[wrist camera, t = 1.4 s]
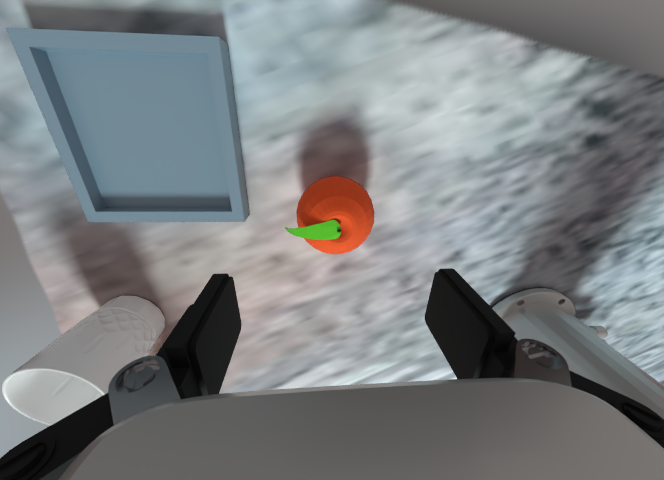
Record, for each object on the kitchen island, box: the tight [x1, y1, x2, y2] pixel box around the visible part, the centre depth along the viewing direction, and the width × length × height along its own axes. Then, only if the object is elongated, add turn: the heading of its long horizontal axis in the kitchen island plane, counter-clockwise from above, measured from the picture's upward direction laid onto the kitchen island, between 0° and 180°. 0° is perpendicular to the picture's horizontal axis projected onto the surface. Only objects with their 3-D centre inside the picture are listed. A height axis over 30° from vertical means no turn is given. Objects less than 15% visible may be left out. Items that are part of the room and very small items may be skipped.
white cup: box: [2, 296, 165, 425], centre depth 25 cm, size 8×8×10 cm
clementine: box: [285, 176, 374, 254], centre depth 22 cm, size 8×7×7 cm
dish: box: [6, 28, 250, 222], centre depth 21 cm, size 14×14×2 cm
